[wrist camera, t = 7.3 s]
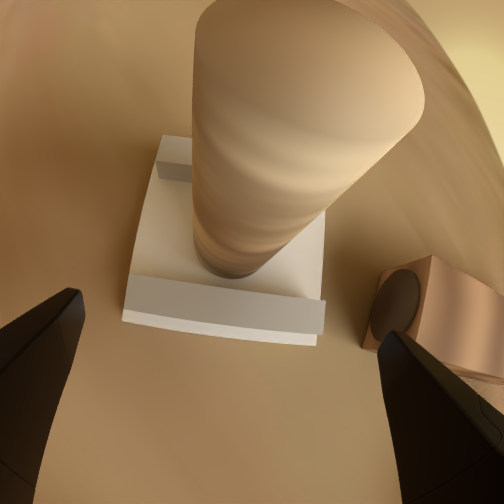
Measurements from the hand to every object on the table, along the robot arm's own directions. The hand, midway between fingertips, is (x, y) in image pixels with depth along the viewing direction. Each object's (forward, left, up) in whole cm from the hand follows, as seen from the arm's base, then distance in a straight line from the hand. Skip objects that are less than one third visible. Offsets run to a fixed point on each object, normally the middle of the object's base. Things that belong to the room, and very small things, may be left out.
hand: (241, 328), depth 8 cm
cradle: (+2, -4, -8) cm, 9 cm away
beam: (-15, -8, -8) cm, 19 cm away
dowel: (+2, -4, -7) cm, 8 cm away
